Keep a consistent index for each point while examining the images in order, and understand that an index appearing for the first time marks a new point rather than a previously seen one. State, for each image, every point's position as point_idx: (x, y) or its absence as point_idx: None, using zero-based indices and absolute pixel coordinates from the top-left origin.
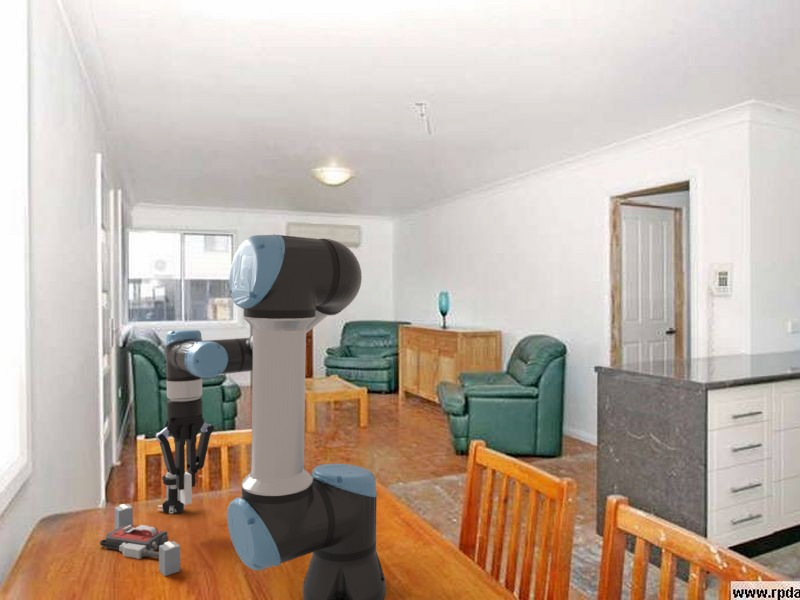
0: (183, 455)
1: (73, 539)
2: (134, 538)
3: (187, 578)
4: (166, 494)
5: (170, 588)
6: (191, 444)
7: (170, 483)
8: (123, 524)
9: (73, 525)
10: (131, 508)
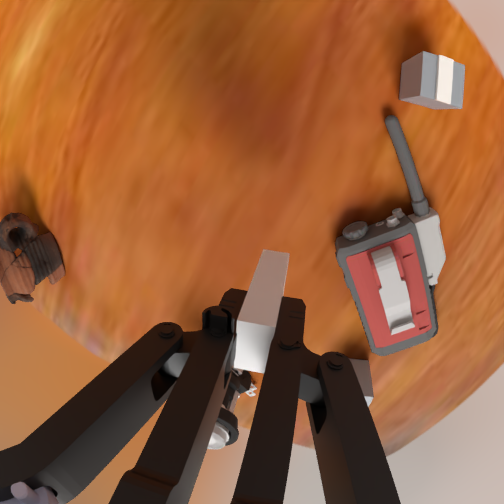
0: (259, 430)
1: (426, 386)
2: (417, 273)
3: (404, 21)
4: (235, 403)
5: (448, 21)
6: (171, 476)
7: (228, 414)
8: (361, 370)
9: (385, 427)
10: None
